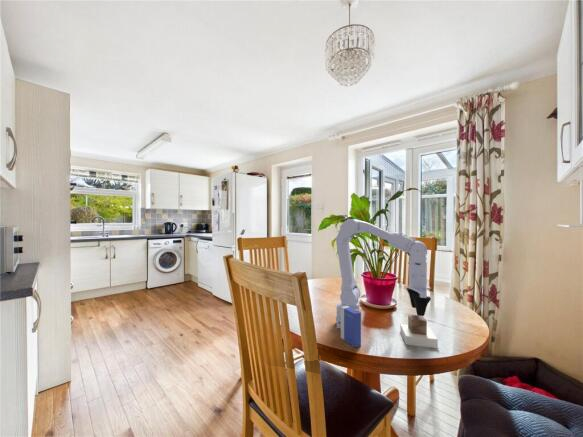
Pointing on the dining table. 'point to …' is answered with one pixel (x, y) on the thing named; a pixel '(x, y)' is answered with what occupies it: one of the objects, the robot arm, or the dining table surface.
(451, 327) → the dining table surface
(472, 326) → the dining table surface
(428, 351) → the dining table surface
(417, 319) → the walnut cube
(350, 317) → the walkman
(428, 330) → the base block
